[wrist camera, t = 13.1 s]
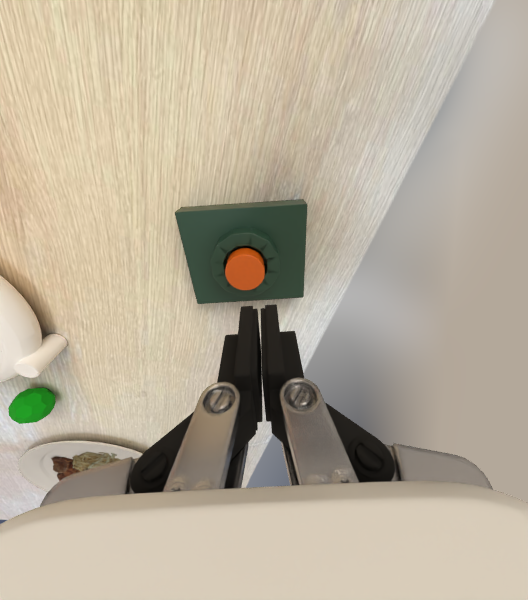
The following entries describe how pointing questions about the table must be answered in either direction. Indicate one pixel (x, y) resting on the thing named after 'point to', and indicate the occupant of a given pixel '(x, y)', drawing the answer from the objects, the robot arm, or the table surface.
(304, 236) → the button box
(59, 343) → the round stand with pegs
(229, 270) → the button
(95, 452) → the plated food
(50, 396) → the polyhedron
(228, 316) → the table surface
